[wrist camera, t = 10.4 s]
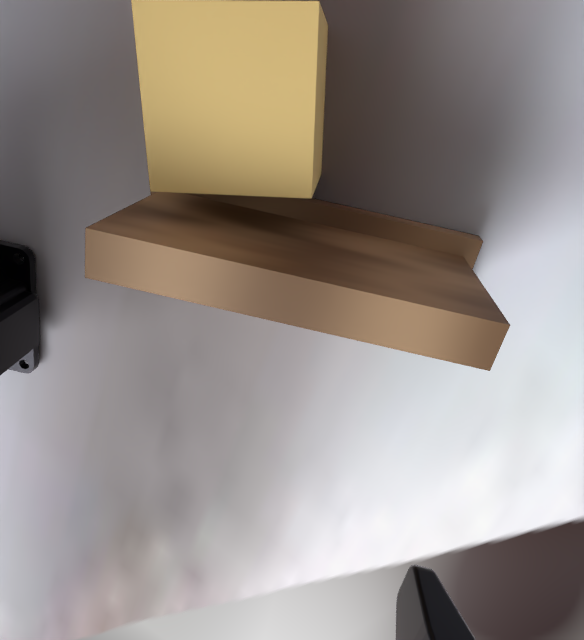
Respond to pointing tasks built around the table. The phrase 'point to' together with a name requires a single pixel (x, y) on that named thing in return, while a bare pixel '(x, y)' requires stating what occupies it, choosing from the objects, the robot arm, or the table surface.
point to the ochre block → (232, 95)
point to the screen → (306, 269)
